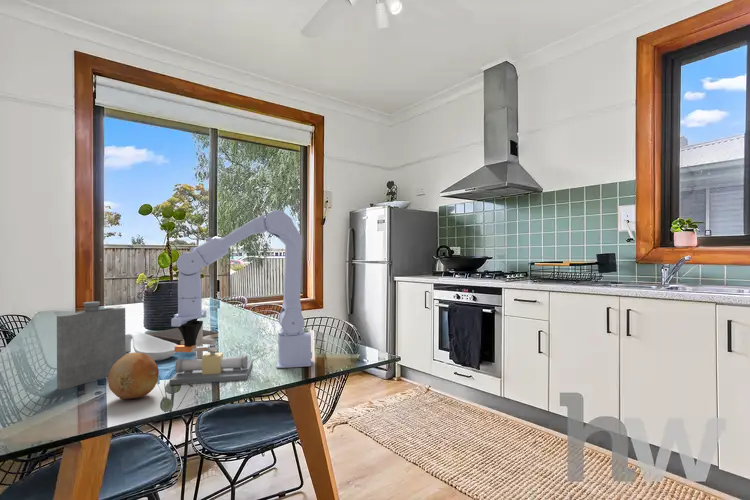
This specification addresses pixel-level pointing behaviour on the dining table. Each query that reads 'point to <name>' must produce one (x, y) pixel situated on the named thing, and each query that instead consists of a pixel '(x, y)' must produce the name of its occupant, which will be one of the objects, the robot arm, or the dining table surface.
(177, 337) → the hardcover book
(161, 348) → the spoon rest
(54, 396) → the dining table surface
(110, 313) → the hip flask
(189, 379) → the board
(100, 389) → the dining table surface
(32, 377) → the dining table surface
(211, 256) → the robot arm
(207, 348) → the valve lever
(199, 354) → the pipe connector
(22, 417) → the dining table surface
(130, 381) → the onion
